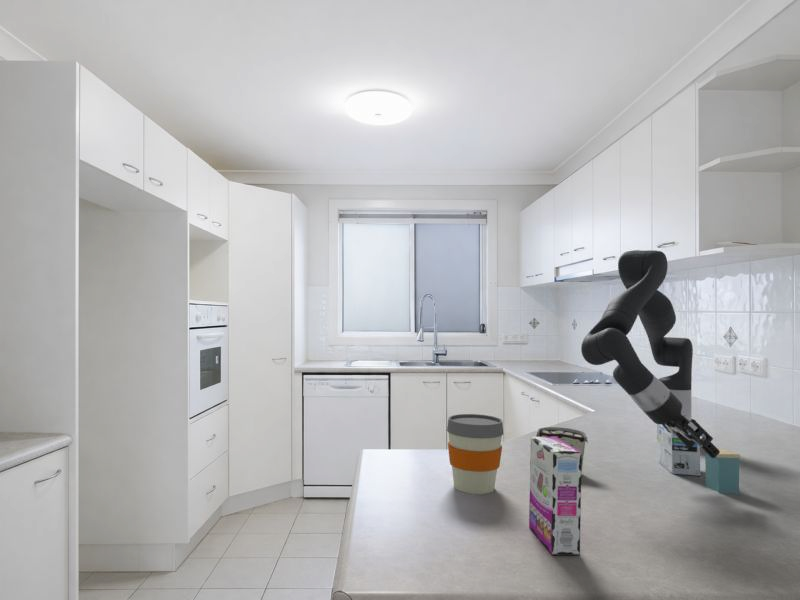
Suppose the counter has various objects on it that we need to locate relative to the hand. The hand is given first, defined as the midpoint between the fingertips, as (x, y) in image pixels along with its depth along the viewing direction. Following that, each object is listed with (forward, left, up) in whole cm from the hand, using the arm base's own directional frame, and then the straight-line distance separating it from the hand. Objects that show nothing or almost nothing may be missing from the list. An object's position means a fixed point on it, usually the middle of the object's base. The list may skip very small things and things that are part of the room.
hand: (703, 449), depth 111 cm
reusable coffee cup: (+1, -53, -9) cm, 54 cm away
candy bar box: (+27, -44, -9) cm, 52 cm away
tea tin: (0, +4, -9) cm, 10 cm away
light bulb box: (-15, +3, -9) cm, 18 cm away
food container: (-13, -28, -9) cm, 32 cm away
